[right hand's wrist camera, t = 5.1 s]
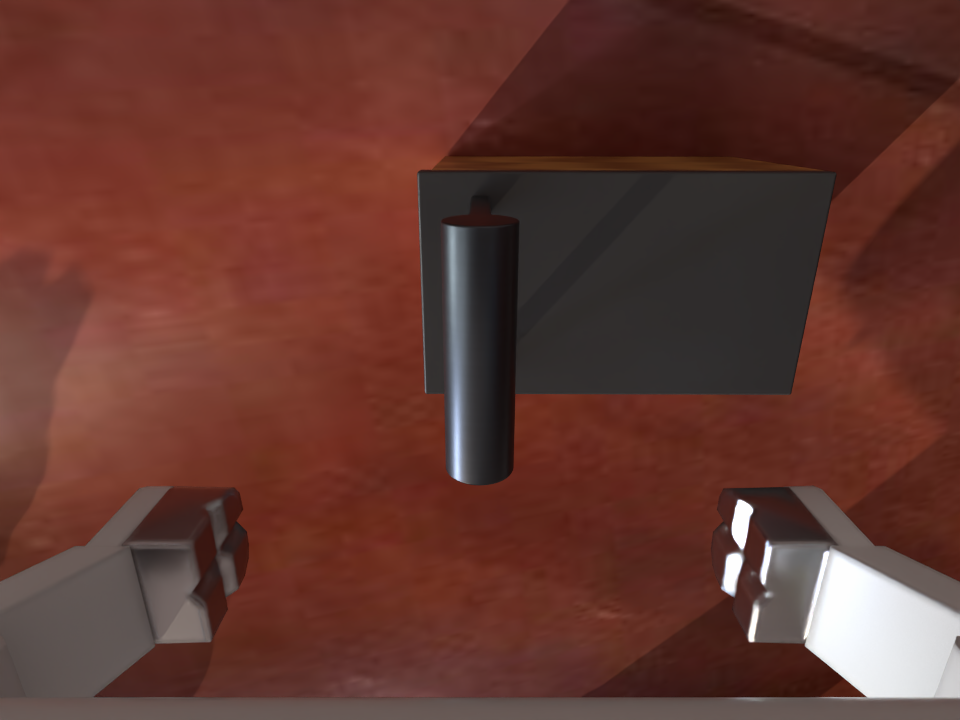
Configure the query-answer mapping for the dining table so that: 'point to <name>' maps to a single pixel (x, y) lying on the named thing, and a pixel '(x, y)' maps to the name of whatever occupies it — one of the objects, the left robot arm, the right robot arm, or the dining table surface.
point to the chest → (608, 163)
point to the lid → (608, 289)
